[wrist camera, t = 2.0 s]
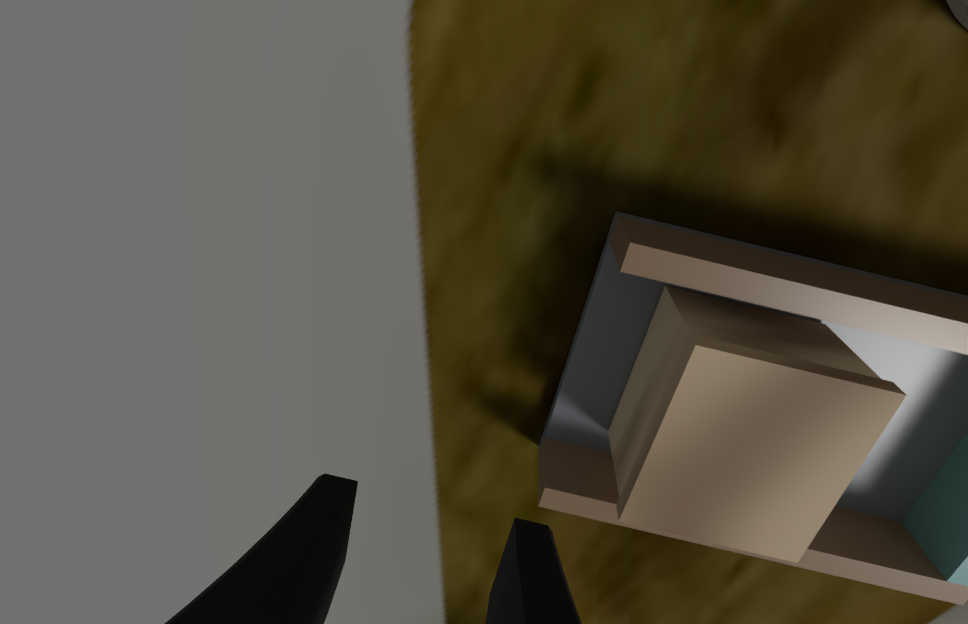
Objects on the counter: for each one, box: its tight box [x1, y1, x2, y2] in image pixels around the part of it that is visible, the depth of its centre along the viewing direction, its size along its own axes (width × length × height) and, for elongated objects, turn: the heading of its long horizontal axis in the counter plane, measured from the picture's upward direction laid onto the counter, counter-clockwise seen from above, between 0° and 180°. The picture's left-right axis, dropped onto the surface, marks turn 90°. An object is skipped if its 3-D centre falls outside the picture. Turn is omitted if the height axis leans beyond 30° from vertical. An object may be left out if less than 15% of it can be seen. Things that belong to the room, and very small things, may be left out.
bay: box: [538, 211, 968, 605], centre depth 18 cm, size 14×9×3 cm, turn 78°
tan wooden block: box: [608, 286, 907, 563], centre depth 17 cm, size 5×6×4 cm
